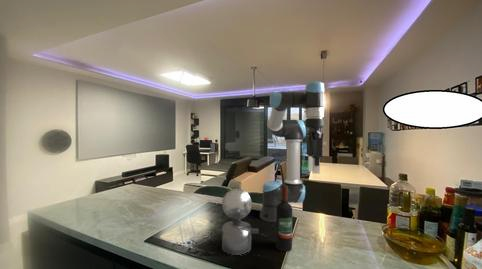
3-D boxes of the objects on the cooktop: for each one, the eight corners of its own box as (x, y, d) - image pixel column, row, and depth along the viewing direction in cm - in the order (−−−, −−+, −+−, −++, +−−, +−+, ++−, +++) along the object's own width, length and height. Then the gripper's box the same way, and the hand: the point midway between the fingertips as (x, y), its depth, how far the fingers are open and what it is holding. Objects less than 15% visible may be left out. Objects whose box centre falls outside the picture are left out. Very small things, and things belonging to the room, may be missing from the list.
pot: (216, 239, 108) (216, 220, 108) (257, 240, 109) (257, 220, 109) (212, 255, 94) (213, 233, 94) (260, 255, 95) (260, 233, 95)
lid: (221, 221, 109) (221, 220, 111) (251, 221, 109) (251, 220, 111) (222, 188, 112) (222, 188, 114) (251, 188, 113) (251, 188, 115)
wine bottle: (289, 243, 106) (290, 183, 106) (293, 251, 98) (294, 187, 98) (274, 243, 105) (275, 183, 105) (277, 251, 98) (278, 187, 98)
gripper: (299, 119, 100) (299, 168, 100) (313, 116, 82) (312, 176, 82) (315, 119, 100) (314, 168, 100) (332, 116, 82) (331, 176, 82)
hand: (313, 172), depth 91 cm, fingers open, 4 cm apart
